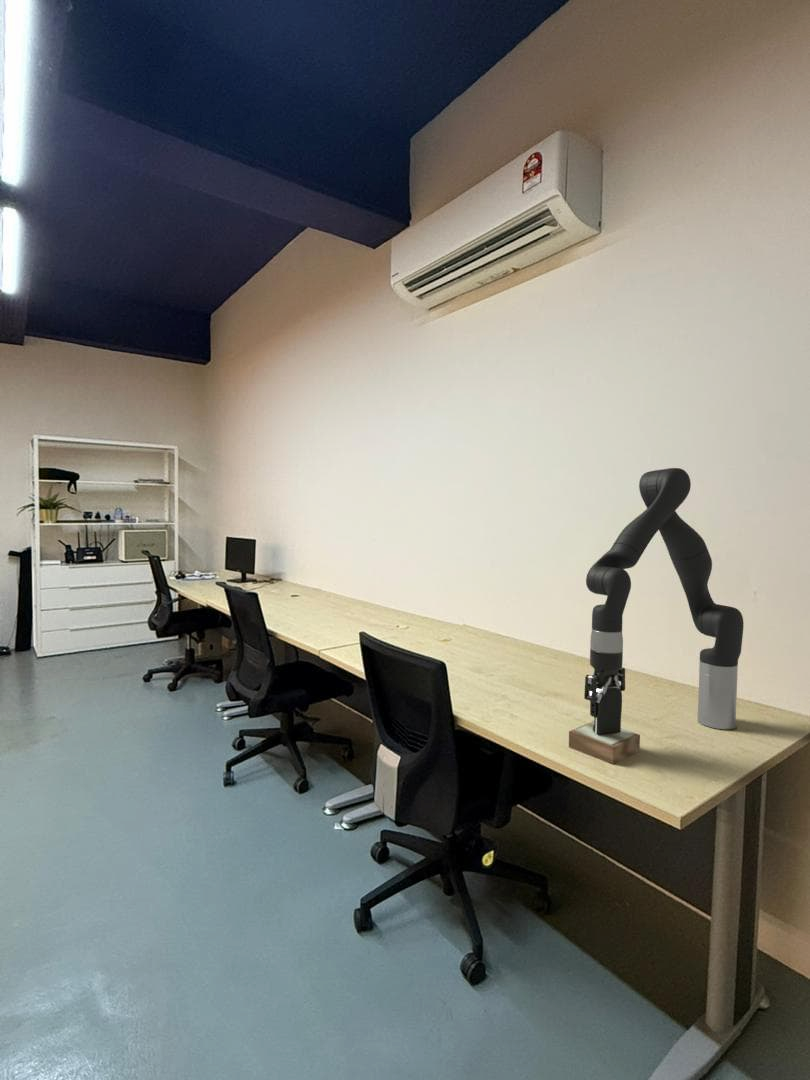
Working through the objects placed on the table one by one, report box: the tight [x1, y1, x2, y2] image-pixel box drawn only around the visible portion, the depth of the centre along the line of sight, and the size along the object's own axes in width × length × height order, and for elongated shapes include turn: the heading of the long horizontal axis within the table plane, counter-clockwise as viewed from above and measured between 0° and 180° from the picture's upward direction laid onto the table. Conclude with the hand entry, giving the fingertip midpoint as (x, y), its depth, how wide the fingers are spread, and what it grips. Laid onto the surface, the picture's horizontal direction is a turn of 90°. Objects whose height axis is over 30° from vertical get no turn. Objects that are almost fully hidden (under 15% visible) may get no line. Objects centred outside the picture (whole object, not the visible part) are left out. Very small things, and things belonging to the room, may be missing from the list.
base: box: [568, 721, 641, 765], centre depth 136 cm, size 12×12×4 cm
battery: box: [593, 686, 623, 735], centre depth 136 cm, size 7×4×11 cm, turn 106°
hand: (604, 712), depth 136 cm, fingers open, 8 cm apart
